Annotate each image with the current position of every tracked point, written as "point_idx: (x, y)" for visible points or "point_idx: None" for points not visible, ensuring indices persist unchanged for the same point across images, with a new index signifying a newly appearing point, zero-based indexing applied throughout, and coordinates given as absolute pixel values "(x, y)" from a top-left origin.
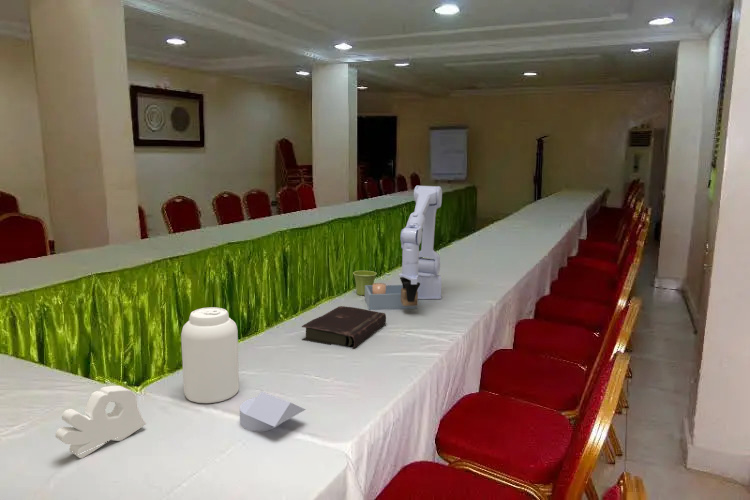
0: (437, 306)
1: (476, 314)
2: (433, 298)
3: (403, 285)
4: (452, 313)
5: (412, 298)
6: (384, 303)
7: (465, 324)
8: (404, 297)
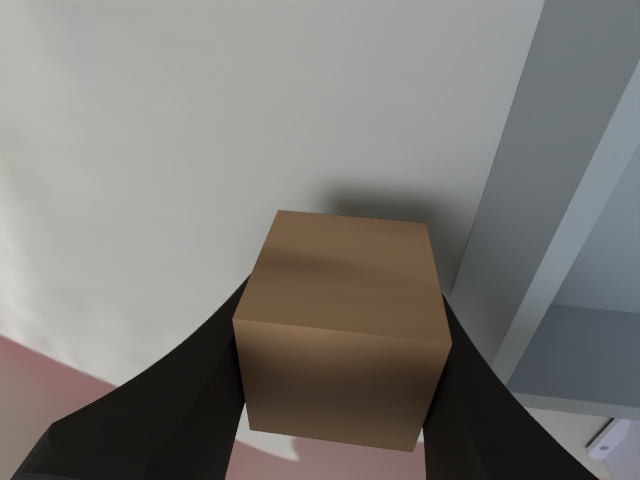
0: None
1: (291, 457)
2: (607, 429)
3: (457, 407)
4: None
5: None
6: (567, 33)
7: None
8: (256, 272)
